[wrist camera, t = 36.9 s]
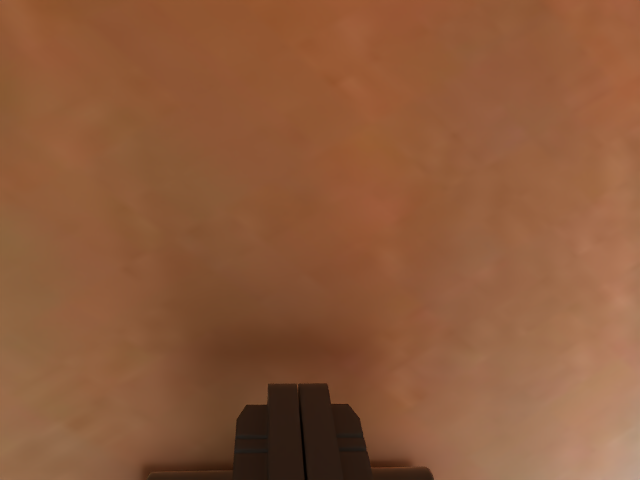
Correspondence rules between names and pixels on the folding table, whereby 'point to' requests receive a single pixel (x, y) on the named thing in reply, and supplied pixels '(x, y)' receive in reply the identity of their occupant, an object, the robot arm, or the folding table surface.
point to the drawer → (383, 476)
